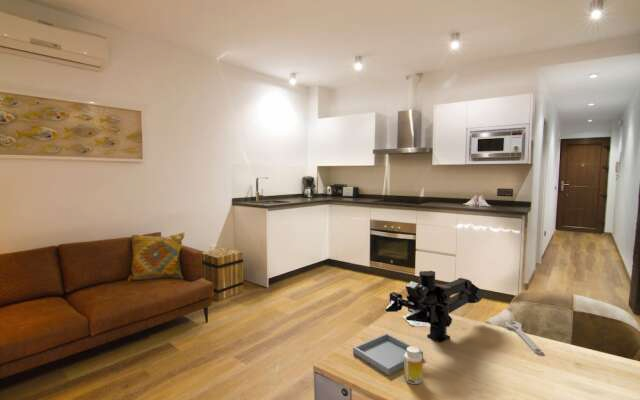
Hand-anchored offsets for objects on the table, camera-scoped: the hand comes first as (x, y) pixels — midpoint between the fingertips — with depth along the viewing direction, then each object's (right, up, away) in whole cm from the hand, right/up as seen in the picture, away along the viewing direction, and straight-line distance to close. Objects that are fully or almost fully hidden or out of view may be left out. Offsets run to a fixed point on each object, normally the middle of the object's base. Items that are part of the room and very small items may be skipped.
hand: (396, 314), depth 121 cm
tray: (-2, -16, +4) cm, 17 cm away
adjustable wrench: (+53, -15, +15) cm, 57 cm away
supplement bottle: (+3, -18, -10) cm, 21 cm away
